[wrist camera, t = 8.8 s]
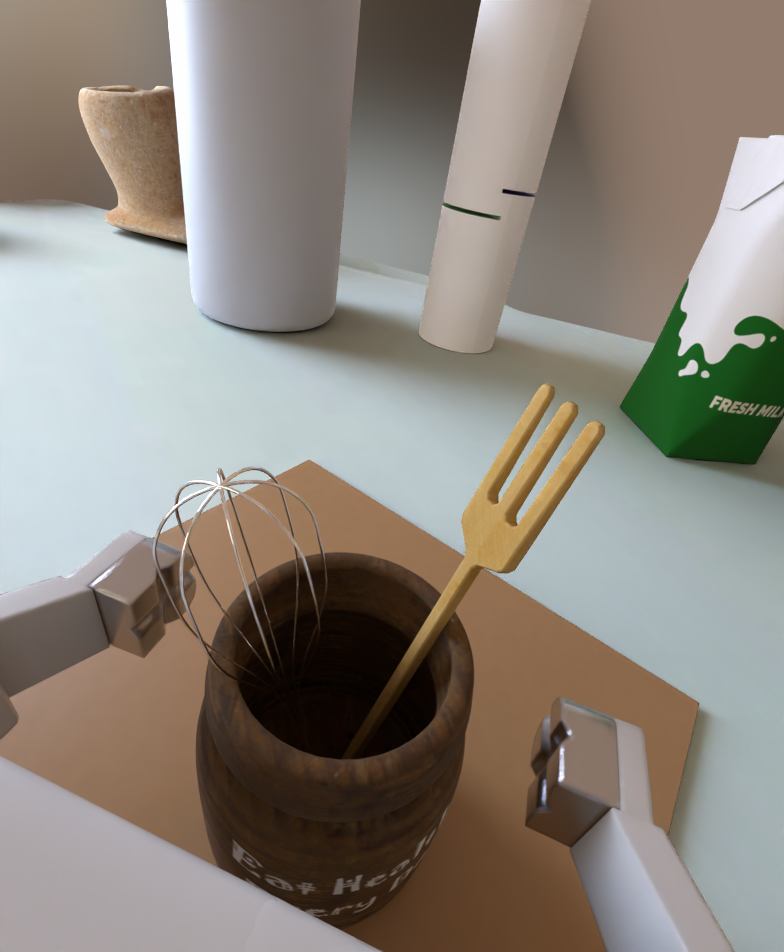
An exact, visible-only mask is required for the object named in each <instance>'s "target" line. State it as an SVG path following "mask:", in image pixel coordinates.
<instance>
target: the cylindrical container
mask: <svg viewBox="0 0 784 952" xmlns="http://www.w3.org/2000/svg"><path fill="white" fill-rule="evenodd" d="M590 2H591V0H481V4H480V9H479V14H478V20H477V25H476V30H475V36H474V41H473V46H472V51H471V57H470V62H469V67H468V73H467V78H466V83H465V88H464V94H463V99H462V104H461V110H460V115H459V120H458V126H457V131H456V136H455V142H454V147H453V152H452V157H451V163H450V168H449V173H448V179H447V184H446V189H445V195H444V202H446V203H444V204H443V205H442V211H441V216H440V221H439V227H438V232H437V237H436V243H435V247H434V253H433V258H432V264H431V269H430V274H429V279H428V284H427V290H426V295H425V300H424V305H423V311H422V316H421V321H420V327H419V335H420V336H421V337H422V338H423V339H424V340H426V341H427V342H429V343H431V344H433V345H435V346H438V347H440V348H443V349H447V350H451V351H456V352H462V353H483V352H487V351H489V350H491V348H492V346H493V343H494V339H495V336H496V332H497V329H498V325H499V322H500V318H501V315H502V311H503V308H504V304H505V300H506V297H507V294H508V290H509V286H510V283H511V280H512V276H513V272H514V269H515V265H516V262H517V258H518V255H519V251H520V248H521V244H522V241H523V237H524V234H525V230H526V227H527V223H528V220H529V216H530V213H531V209H532V206H533V202H534V199H535V196H534V195H532V194H528V193H525V192H530V193H536V191H537V188H538V185H539V181H540V178H541V174H542V170H543V167H544V163H545V160H546V156H547V153H548V149H549V146H550V142H551V139H552V135H553V132H554V128H555V125H556V121H557V117H558V114H559V110H560V107H561V104H562V100H563V97H564V92H565V89H566V86H567V82H568V79H569V75H570V72H571V68H572V65H573V61H574V58H575V54H576V51H577V47H578V44H579V40H580V37H581V33H582V30H583V26H584V22H585V19H586V16H587V12H588V9H589V5H590Z"/></svg>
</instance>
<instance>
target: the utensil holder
mask: <svg viewBox="0 0 784 952" xmlns="http://www.w3.org/2000/svg"><path fill="white" fill-rule="evenodd" d="M554 394H555V389H554V387H552V386H551V385H549V384H544V385H542V386H540V387H539V389H538V391H537V392H536V394H535V396H534V397H533V399H532V401H531V402H530V404H529V405H528V407H527V409H526V410H525V412H524V414H523V415H522V417H521V419H520V420H519V422H518V423H517V425H516V427H515V428H514V430H513V432H512V433H511V435H510V437H509V438H508V440H507V441H506V443H505V445H504V446H503V448H502V450H501V451H500V453H499V455H498V456H497V458H496V459H495V461H494V463H493V464H492V466H491V468H490V469H489V471H488V473H487V474H486V476H485V478H484V479H483V481H482V482H481V484H480V486H479V487H478V489H477V491H476V492H475V494H474V496H473V497H472V499H471V501H470V502H469V504H468V506H467V507H466V509H465V511H464V513H463V516H462V521H461V522H462V528H463V534H464V539H465V545H466V552H465V557H464V559H463V561H462V562H461V564H460V566H459V567H458V569H457V571H456V572H455V574H454V576H453V577H452V579H451V580H450V582H449V584H448V585H447V587H446V589H445V590H444V592H443V593H442V595H441V594H440V593H439V592H438V591H437V590H436V589H435V588H434V587H433V586H432V585H431V584H429V583H428V582H427V581H426V580H424V579H423V578H421V577H420V576H418V575H417V574H415V573H414V572H412V571H410V570H408V569H406V568H404V567H403V566H400V565H398V564H396V563H393V562H391V561H388V560H385V559H382V558H378V557H374V556H370V555H365V554H358V553H348V552H331V553H324V552H323V547H322V543H321V539H320V534H319V530H318V526H317V523H316V520H315V517H314V514H313V512H312V510H311V509H310V507H309V506H308V505H307V503H306V502H305V501H304V500H303V499H302V498H301V497H300V496H298V495H297V494H296V493H294V492H293V491H291V490H290V489H288V488H286V487H284V486H281V485H280V484H279V482H278V481H277V479H276V478H275V477H274V476H273V475H272V474H271V473H270V472H268V471H267V470H265V469H263V468H259V467H248V468H244V469H241V470H239V471H237V472H235V473H234V474H232V475H231V476H229V477H228V478H227V479H225V476H224V473H223V471H222V469H221V468H220V467H218V468H217V479H218V483H214V482H210V481H202V480H198V481H191V482H188V483H186V484H184V485H182V486H181V487H180V488H179V490H178V491H177V494H176V497H175V505H174V507H173V508H172V509H171V510H170V511H169V512H168V513H167V515H166V516H165V517H164V518H163V520H162V522H161V523H160V525H159V527H158V529H157V532H156V535H155V538H154V543H153V557H154V562H155V565H156V568H157V571H158V574H159V576H160V578H161V580H162V583H163V585H164V587H165V589H166V592H167V594H168V596H169V598H170V600H171V602H172V604H173V607H174V608H175V610H176V612H177V614H178V616H179V617H180V619H181V620H182V622H183V623H184V625H185V626H186V627H187V628H188V630H189V631H190V632H191V633H192V634H193V635H194V636H195V637H196V638H197V639H198V640H199V641H200V643H201V645H202V647H203V648H204V650H205V652H206V654H207V656H208V657H209V660H208V664H207V670H206V677H205V691H204V698H203V701H202V705H201V709H200V714H199V718H198V724H197V731H196V771H197V780H198V788H199V794H200V800H201V806H202V811H203V816H204V821H205V826H206V831H207V836H208V840H209V843H210V846H211V850H212V853H213V856H214V858H215V861H216V864H217V866H218V868H220V869H222V870H224V871H226V872H228V873H230V874H232V875H234V876H236V877H238V878H240V879H242V880H244V881H246V882H248V883H250V884H252V885H253V886H255V887H257V888H259V889H261V890H263V891H265V892H267V893H269V894H271V895H273V896H275V897H277V898H279V899H281V900H283V901H285V902H287V903H289V904H291V905H292V906H294V907H296V908H298V909H300V910H302V911H304V912H306V913H308V914H310V915H312V916H314V917H316V918H318V919H320V920H322V921H324V922H326V923H328V924H330V925H331V926H333V927H335V928H337V929H339V930H342V929H345V928H348V927H351V926H353V925H356V924H358V923H360V922H362V921H364V920H365V919H367V918H369V917H370V916H372V915H373V914H375V913H376V912H377V911H379V910H380V909H382V908H383V907H384V906H385V905H386V904H387V903H389V902H390V901H391V900H392V899H393V898H394V897H395V896H396V895H397V894H398V893H399V892H400V890H401V889H402V888H403V887H404V885H405V884H406V883H407V882H408V880H409V879H410V878H411V876H412V875H413V873H414V872H415V870H416V869H417V867H418V865H419V864H420V862H421V860H422V859H423V857H424V855H425V853H426V851H427V850H428V848H429V846H430V844H431V842H432V840H433V839H434V837H435V835H436V833H437V831H438V829H439V827H440V825H441V823H442V821H443V819H444V817H445V815H446V812H447V810H448V808H449V806H450V804H451V801H452V799H453V796H454V793H455V790H456V787H457V784H458V781H459V777H460V773H461V769H462V764H463V759H464V749H465V732H466V729H467V725H468V722H469V718H470V712H471V706H472V698H473V688H474V661H473V655H472V650H471V646H470V642H469V639H468V636H467V633H466V631H465V629H464V627H463V624H462V623H461V621H460V619H459V617H458V615H457V614H456V612H455V610H456V608H457V607H458V605H459V603H460V602H461V600H462V599H463V597H464V596H465V594H466V593H467V591H468V589H469V588H470V586H471V585H472V583H473V582H474V580H475V579H476V577H477V576H478V574H479V572H480V571H481V569H482V568H486V569H489V570H491V571H494V572H497V573H509V572H512V571H514V570H515V569H516V568H517V566H518V565H519V563H520V562H521V560H522V559H523V557H524V556H525V554H526V553H527V551H528V550H529V548H530V547H531V545H532V544H533V542H534V541H535V539H536V538H537V536H538V535H539V533H540V532H541V530H542V529H543V527H544V526H545V524H546V523H547V521H548V520H549V518H550V517H551V515H552V514H553V512H554V511H555V509H556V508H557V506H558V504H559V503H560V501H561V500H562V498H563V497H564V495H565V494H566V492H567V491H568V489H569V488H570V486H571V485H572V483H573V482H574V480H575V479H576V477H577V476H578V474H579V473H580V471H581V470H582V468H583V467H584V465H585V464H586V462H587V461H588V459H589V457H590V456H591V454H592V453H593V451H594V450H595V448H596V447H597V445H598V444H599V442H600V441H601V439H602V438H603V436H604V434H605V427H604V425H603V424H601V423H600V422H599V421H592V422H590V423H588V424H587V425H586V426H585V428H584V429H583V431H582V432H581V434H580V435H579V436H578V438H577V439H576V441H575V442H574V444H573V445H572V447H571V448H570V450H569V451H568V453H567V454H566V455H565V457H564V458H563V460H562V461H561V463H560V464H559V466H558V467H557V469H556V470H555V471H554V473H553V474H552V476H551V477H550V479H549V480H548V482H547V483H546V485H545V486H544V487H543V489H542V490H541V492H540V493H539V495H538V496H537V498H536V499H535V501H534V502H533V504H532V505H531V506H530V508H529V509H528V511H527V512H526V514H525V515H524V517H523V518H522V520H521V521H520V522H519V524H517V522H516V515H517V513H518V511H519V509H520V508H521V506H522V505H523V503H524V501H525V500H526V498H527V496H528V495H529V493H530V492H531V490H532V488H533V487H534V485H535V483H536V482H537V480H538V479H539V477H540V475H541V474H542V472H543V470H544V469H545V467H546V466H547V464H548V462H549V461H550V459H551V457H552V456H553V454H554V452H555V451H556V449H557V448H558V446H559V444H560V443H561V441H562V439H563V438H564V436H565V435H566V433H567V431H568V430H569V428H570V426H571V425H572V423H573V422H574V420H575V418H576V417H577V415H578V406H577V405H576V404H575V403H574V402H571V401H568V402H566V403H564V404H562V405H561V407H560V408H559V410H558V412H557V413H556V415H555V416H554V418H553V419H552V421H551V422H550V424H549V426H548V427H547V429H546V430H545V432H544V433H543V435H542V436H541V438H540V439H539V441H538V443H537V444H536V446H535V447H534V449H533V450H532V452H531V453H530V455H529V456H528V458H527V460H526V461H525V463H524V464H523V466H522V467H521V469H520V470H519V472H518V474H517V475H516V477H515V478H514V480H513V481H512V483H511V484H510V486H509V487H508V489H507V491H506V492H505V494H504V495H503V497H502V498H501V500H500V501H498V494H499V491H500V490H501V488H502V486H503V484H504V483H505V481H506V479H507V477H508V476H509V474H510V472H511V471H512V469H513V467H514V465H515V464H516V462H517V460H518V458H519V457H520V455H521V453H522V451H523V450H524V448H525V446H526V444H527V443H528V441H529V439H530V437H531V436H532V434H533V432H534V431H535V429H536V427H537V425H538V424H539V422H540V420H541V418H542V417H543V415H544V413H545V411H546V410H547V408H548V406H549V404H550V403H551V401H552V399H553V398H554ZM249 470H259V471H262V472H264V473H266V474H267V475H269V476H270V477H271V478H272V479H273V480H274V482H275V483H272V482H268V481H260V480H242V481H233V482H228V481H229V480H231V479H232V478H234V477H235V476H237V475H238V474H240V473H243V472H245V471H249ZM220 474H221V475H220ZM221 477H222V479H223V482H222V481H221ZM227 482H228V483H227ZM246 483H258V484H266V485H270V486H274V487H277V488H278V489H279V491H280V494H281V497H282V500H283V503H284V507H285V511H286V515H287V518H288V522H289V526H290V530H291V534H292V535H291V534H290V533H289V531H288V530H287V529H286V527H285V526H284V525H283V524H282V523H281V522H280V521H279V520H278V519H277V518H276V517H275V516H274V515H273V514H272V513H271V512H270V511H269V510H268V509H266V508H265V507H264V506H263V505H261V504H260V503H258V502H257V501H255V500H254V499H253V498H251V497H249V496H247V495H246V494H244V493H242V492H240V491H238V490H235V489H233V488H230V487H228V486H231V485H236V484H246ZM192 484H208V485H212V487H209V488H206V489H203V490H201V491H198V492H196V493H194V494H192V495H190V496H188V497H187V498H185V499H183V500H182V501H181V502H179V503H178V499H179V495H180V493H181V491H182V490H183V489H184V488H185V487H187V486H189V485H192ZM214 489H215V490H214ZM223 489H226V490H227V493H228V496H229V499H230V502H231V505H232V508H233V511H234V514H235V517H236V520H237V523H238V527H239V530H240V533H241V536H242V539H243V542H244V545H245V548H246V552H247V555H248V558H249V561H250V564H251V568H252V571H253V574H254V578H255V580H254V581H253V582H252V583H251V584H249V585H248V584H247V581H246V577H245V574H244V570H243V567H242V563H241V560H240V556H239V553H238V549H237V545H236V542H235V538H234V534H233V530H232V526H231V522H230V518H229V514H228V510H227V505H226V501H225V496H224V491H223ZM282 489H283V490H285V491H287V492H289V493H290V494H292V495H293V496H295V497H296V498H297V499H298V500H299V501H301V503H302V504H303V505H304V506H305V507H306V508H307V510H308V511H309V513H310V515H311V518H312V520H313V523H314V526H315V530H316V534H317V538H318V543H319V547H320V551H321V553H320V554H314V555H309V556H304V555H303V553H302V551H301V549H300V547H299V546H298V544H297V542H296V541H295V536H294V531H293V527H292V523H291V519H290V515H289V511H288V508H287V504H286V500H285V497H284V494H283V491H282ZM211 490H214V491H213V492H212V493H211V494H210V495H209V496H208V497H207V499H206V500H205V501H204V502H203V504H202V505H201V507H200V508H199V510H198V511H197V513H196V515H195V517H194V519H193V521H192V523H191V525H190V527H189V530H188V532H187V535H186V534H185V531H184V529H183V526H182V523H181V520H180V517H179V512H178V507H180V506H181V505H182V504H184V503H185V502H187V501H188V500H190V499H192V498H194V497H195V496H198V495H200V494H203V493H205V492H208V491H211ZM218 490H220V495H221V500H222V505H223V509H224V514H225V518H226V522H227V526H228V530H229V534H230V538H231V541H232V545H233V549H234V553H235V556H236V560H237V563H238V567H239V570H240V574H241V577H242V580H243V584H244V587H245V589H244V590H243V591H242V592H241V593H240V594H239V595H238V596H237V597H236V599H235V600H234V601H233V602H232V604H231V605H230V606H229V608H228V609H227V611H225V610H224V609H223V607H222V606H221V604H220V603H219V602H218V600H217V599H216V597H215V595H214V594H213V592H212V591H211V589H210V587H209V586H208V584H207V582H206V580H205V578H204V576H203V574H202V572H201V570H200V568H199V566H198V564H197V561H196V559H195V557H194V554H193V552H192V549H191V547H190V544H189V542H188V541H189V538H190V535H191V532H192V530H193V528H194V525H195V523H196V521H197V519H198V517H199V515H200V514H201V512H202V511H203V509H204V507H205V506H206V504H207V503H208V502H209V501H210V499H211V498H212V497H213V496H214V495H215V494H216V493H217V492H218ZM230 491H231V492H234V493H236V494H238V495H240V496H242V497H244V498H246V499H247V500H249V501H251V502H252V503H254V504H255V505H257V506H258V507H259V508H261V509H262V510H263V511H264V512H266V513H267V514H268V515H269V516H270V517H271V518H272V519H273V520H274V521H275V522H276V523H277V524H278V525H279V526H280V527H281V528H282V529H283V531H284V532H285V533H286V534H287V536H288V537H289V538H290V540H291V541H292V543H293V544H294V551H295V559H294V560H291V561H288V562H286V563H284V564H281V565H279V566H277V567H275V568H273V569H271V570H269V571H268V572H266V573H264V574H263V575H261V576H260V577H258V578H257V576H256V572H255V569H254V566H253V562H252V559H251V556H250V552H249V549H248V546H247V543H246V540H245V536H244V533H243V530H242V527H241V524H240V521H239V518H238V515H237V511H236V508H235V505H234V502H233V499H232V496H231V493H230ZM174 511H175V514H176V518H177V521H178V524H179V527H180V530H181V532H182V535H183V537H184V540H185V541H184V545H183V549H182V554H181V561H180V577H179V581H180V590H181V596H182V599H183V602H184V605H185V608H186V611H187V613H188V615H189V618H190V620H191V622H192V625H193V627H194V629H195V632H196V633H195V632H194V631H193V629H192V628H191V627H190V626H189V625H188V623H187V622H186V620H185V619H184V617H183V616H182V614H181V612H180V611H179V609H178V607H177V605H176V603H175V601H174V599H173V597H172V595H171V592H170V590H169V588H168V585H167V583H166V581H165V578H164V576H163V574H162V572H161V569H160V566H159V562H158V559H157V541H158V537H159V534H160V531H161V529H162V527H163V525H164V524H165V522H166V520H167V519H168V518H169V517H170V515H171V514H172V513H173V512H174ZM187 547H188V550H189V552H190V555H191V557H192V560H193V562H194V564H195V566H196V569H197V571H198V573H199V575H200V577H201V579H202V581H203V583H204V584H205V586H206V588H207V589H208V591H209V593H210V594H211V596H212V597H213V599H214V601H215V602H216V603H217V605H218V606H219V608H220V609H221V611H222V612H223V613H224V616H223V618H222V620H221V621H220V624H219V626H218V628H217V631H216V633H215V636H214V639H213V642H212V647H211V646H210V645H209V644H207V643H206V642H205V641H204V640H203V638H202V636H201V634H200V632H199V629H198V627H197V625H196V622H195V620H194V617H193V615H192V613H191V610H190V608H189V605H188V602H187V599H186V596H185V591H184V582H183V570H184V560H185V554H186V549H187ZM297 551H298V553H299V554H300V557H301V558H298V553H297ZM207 647H208V648H209V649H210V650H211V651H210V652H209V650H208V648H207Z"/></svg>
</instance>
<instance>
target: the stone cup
mask: <svg viewBox="0 0 784 952" xmlns="http://www.w3.org/2000/svg"><path fill="white" fill-rule="evenodd" d="M79 108H80V112H81V116H82V119H83V122H84V125H85V127H86V130H87V132H88V134H89V136H90V139H91V141H92V143H93V145H94V147H95V149H96V151H97V153H98V155H99V157H100V158H101V160H102V162H103V164H104V166H105V168H106V170H107V171H108V173H109V175H110V177H111V179H112V181H113V183H114V185H115V188H116V190H117V194H118V201H119V203H118V206H117V207H116V208H115V209H113V210H111V211H110V212H108V213H107V214H105V220H106V221H107V223H109V224H111V225H113V226H116V227H119V228H122V229H125V230H129V231H133V232H137V233H141V234H145V235H149V236H153V237H158V238H162V239H166V240H170V241H175V242H179V243H184V244H187V236H186V224H185V213H184V201H183V189H182V178H181V166H180V154H179V142H178V131H177V119H176V107H175V96H174V92H173V90H171V89H170V88H169V87H164V86H157V87H155V88H154V89H153V90H150V91H144V90H142V89H139V88H136V87H133V86H105V87H100V88H92V87H88V88H87V87H86V88H82V89H81V90H80V93H79Z"/></svg>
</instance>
